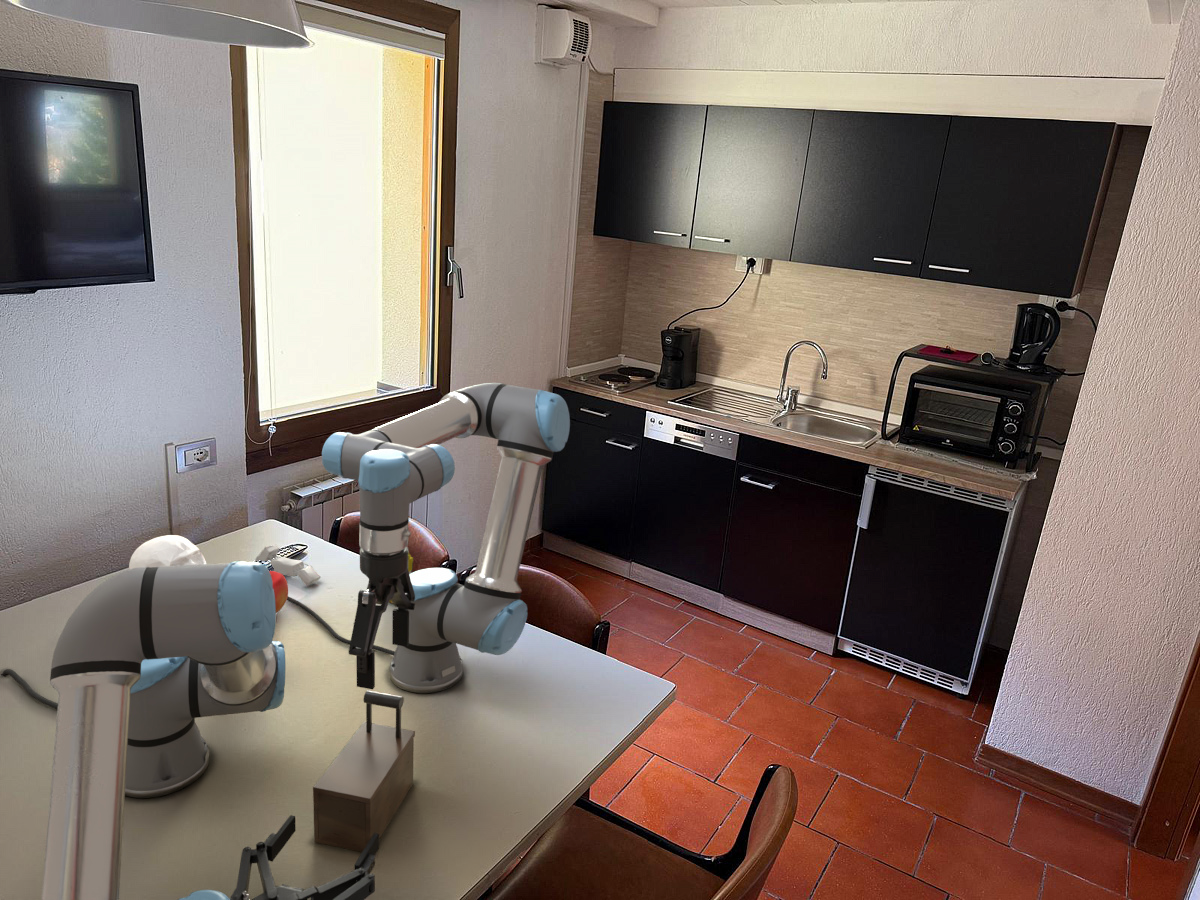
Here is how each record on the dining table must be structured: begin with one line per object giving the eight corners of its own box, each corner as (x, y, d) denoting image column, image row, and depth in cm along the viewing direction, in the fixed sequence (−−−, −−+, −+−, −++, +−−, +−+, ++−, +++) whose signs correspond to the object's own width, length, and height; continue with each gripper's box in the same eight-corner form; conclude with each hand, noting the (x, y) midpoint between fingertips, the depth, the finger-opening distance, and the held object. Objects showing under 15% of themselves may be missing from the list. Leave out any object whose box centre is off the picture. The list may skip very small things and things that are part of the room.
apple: (273, 600, 207) (272, 562, 204) (297, 613, 202) (296, 575, 199) (237, 614, 200) (234, 575, 197) (261, 628, 194) (259, 588, 191)
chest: (362, 773, 151) (362, 728, 148) (413, 783, 150) (413, 737, 147) (314, 842, 135) (312, 792, 132) (370, 854, 133) (370, 804, 131)
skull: (194, 621, 195) (192, 557, 191) (117, 602, 200) (112, 539, 196) (234, 599, 207) (233, 538, 203) (160, 581, 213) (157, 521, 209)
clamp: (253, 565, 223) (254, 542, 221) (265, 560, 226) (266, 537, 224) (309, 593, 215) (310, 569, 213) (320, 588, 218) (321, 564, 216)
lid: (363, 725, 149) (363, 681, 146) (415, 735, 147) (415, 691, 145) (312, 792, 132) (311, 743, 130) (370, 803, 131) (370, 755, 128)
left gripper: (169, 948, 112) (260, 835, 132) (345, 992, 109) (411, 868, 129) (165, 903, 110) (258, 795, 130) (345, 946, 106) (412, 827, 126)
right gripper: (372, 584, 123) (372, 711, 129) (435, 522, 146) (433, 632, 153) (323, 576, 124) (326, 702, 130) (394, 516, 148) (393, 625, 154)
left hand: (334, 831), depth 129 cm, fingers open, 13 cm apart
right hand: (383, 665), depth 142 cm, fingers open, 13 cm apart
